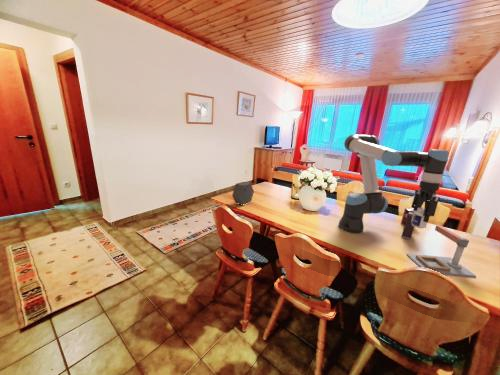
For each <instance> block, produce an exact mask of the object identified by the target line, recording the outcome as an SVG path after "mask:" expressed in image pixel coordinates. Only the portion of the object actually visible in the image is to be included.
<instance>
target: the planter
mask: <svg viewBox="0 0 500 375" xmlns="http://www.w3.org/2000/svg"><path fill="white" fill-rule="evenodd" d="M254 194H255V191H254V188H253V186H252V183H251V182H247V181H242V182H237V183H235V186H234V188H233V192H232V195H231V196H232V198H233V201H234V202H235V204H236V203H239V204H242V205H243V204H246V203H248V202H250V201H251V202H252V199H253V196H254ZM239 204H238V205H239ZM242 205H241V206H242Z"/></svg>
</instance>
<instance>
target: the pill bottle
mask: <svg viewBox="0 0 500 375" xmlns="http://www.w3.org/2000/svg"><path fill="white" fill-rule="evenodd" d="M424 208H425V207H421V208H418V209H417V211H416V212H415V213H414V217H413V220H412V226H414V228H417V229H424V228H423V227H419V225H420V222H421V218H422V215H423V214H424Z"/></svg>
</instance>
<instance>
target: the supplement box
mask: <svg viewBox="0 0 500 375" xmlns="http://www.w3.org/2000/svg"><path fill="white" fill-rule="evenodd" d="M413 212H414V211H409V213H408V216H407V219H406V223H405V226H404V225H403V230H402V233H401V238H404V239H407V240H411V237H412V235H413V232H414V230H415V227H414V226H412V222H411V220H412V217H413Z"/></svg>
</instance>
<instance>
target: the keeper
mask: <svg viewBox="0 0 500 375" xmlns="http://www.w3.org/2000/svg"><path fill="white" fill-rule="evenodd" d="M434 230H435V231H436V233H437V232H438V233H439V234H441V235H442V236H444V237H445V238H448V239H449V240H451V241H452V242H454V243H456V245H457V246H461V247H465V248H468V245H469V243H470V239H468V238H465V237H462V236H460V235H458V234H456V233H455V232H453V231H451V230H449V229H447V228H446V227H444V226H442V225H437V224H436V225H435V228H434Z"/></svg>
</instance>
